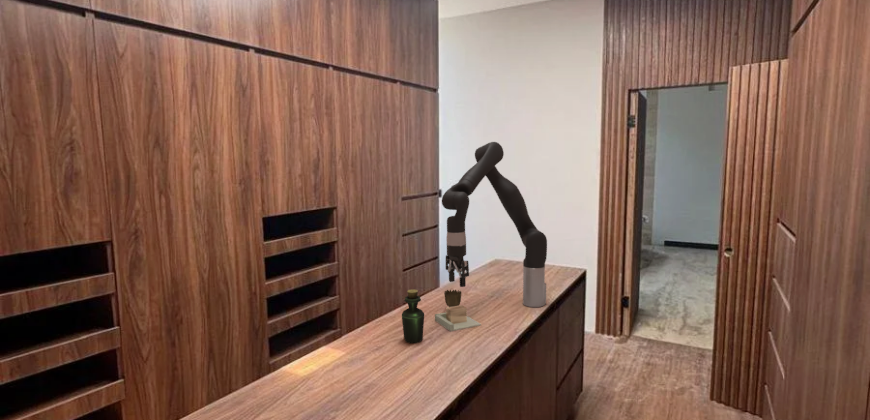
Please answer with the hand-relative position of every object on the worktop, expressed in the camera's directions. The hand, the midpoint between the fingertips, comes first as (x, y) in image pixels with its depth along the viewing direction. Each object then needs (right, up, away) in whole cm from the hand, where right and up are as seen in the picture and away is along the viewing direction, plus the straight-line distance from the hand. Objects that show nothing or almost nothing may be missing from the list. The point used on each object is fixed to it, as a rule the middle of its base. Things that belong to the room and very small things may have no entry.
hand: (457, 284), depth 178 cm
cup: (-1, -14, +17) cm, 22 cm away
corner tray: (0, -16, +2) cm, 16 cm away
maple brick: (0, -15, +2) cm, 15 cm away
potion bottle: (-16, -18, -15) cm, 28 cm away
